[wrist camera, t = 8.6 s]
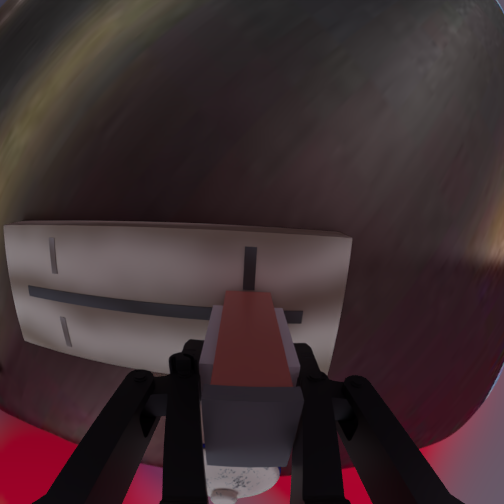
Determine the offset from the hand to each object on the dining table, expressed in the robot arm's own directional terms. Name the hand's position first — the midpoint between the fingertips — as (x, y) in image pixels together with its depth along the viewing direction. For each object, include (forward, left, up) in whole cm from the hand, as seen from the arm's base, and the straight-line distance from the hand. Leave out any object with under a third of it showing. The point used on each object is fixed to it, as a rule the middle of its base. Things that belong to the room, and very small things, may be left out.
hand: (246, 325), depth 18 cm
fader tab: (0, 0, -1) cm, 1 cm away
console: (0, -8, -5) cm, 9 cm away
